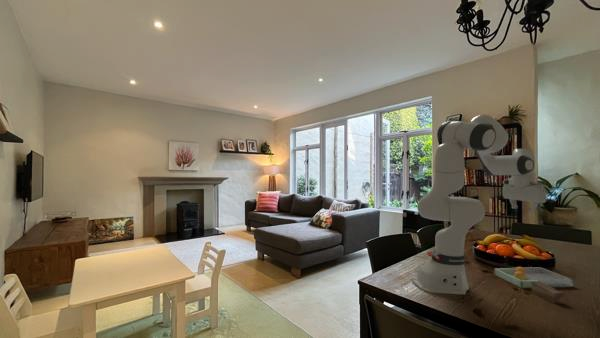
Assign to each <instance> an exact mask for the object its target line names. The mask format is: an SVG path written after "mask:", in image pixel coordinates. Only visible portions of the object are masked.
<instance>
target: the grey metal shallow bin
mask: <svg viewBox="0 0 600 338" xmlns="http://www.w3.org/2000/svg"><path fill="white" fill-rule="evenodd" d="M522 267H523V266H522ZM510 268H511V274H513V275H514V273H515V269H516V268H517V267H510ZM523 268H524V269H525V270H526V275H525V280H538V281H539V282H542V283H544V284H546V285H548V286H550V287H552V288H571V287H574V279H573V278H570V277H568V276H565V275H562V274H559V273H557V272H555V271H551V270H549V269H546V268H543V267H541V266H540V267H532V266H530V267H529V266H528V267H527V266H525V267H523Z"/></svg>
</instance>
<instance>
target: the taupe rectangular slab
mask: <svg viewBox="0 0 600 338" xmlns="http://www.w3.org/2000/svg"><path fill="white" fill-rule="evenodd" d="M531 293H533V294H536V295H537V296H539V297H541V298H543V299H545V300H546V301H549V302H551V303H553V304H561V305H562V304H565V301H564V300H565V299H564V297H565V294H564V292H562V291H560V290H558V289H556V288H555V287H550V286H548V285H546V284H544V283H542V282H532V288H531Z"/></svg>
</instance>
